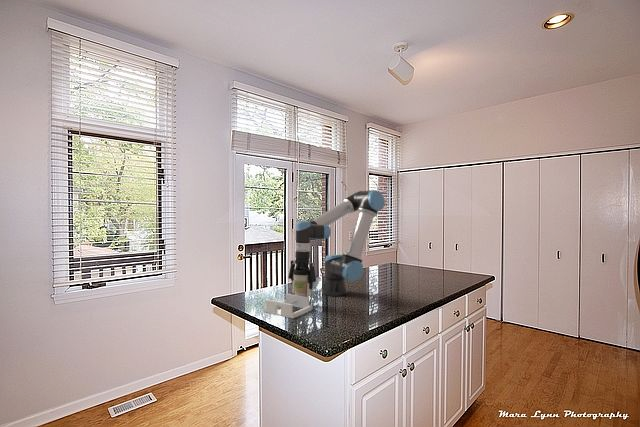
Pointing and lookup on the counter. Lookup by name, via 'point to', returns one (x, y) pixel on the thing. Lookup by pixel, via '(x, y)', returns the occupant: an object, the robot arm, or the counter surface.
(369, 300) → the counter surface
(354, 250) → the robot arm
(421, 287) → the counter surface
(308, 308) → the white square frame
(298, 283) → the coffee cup
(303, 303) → the pusher
